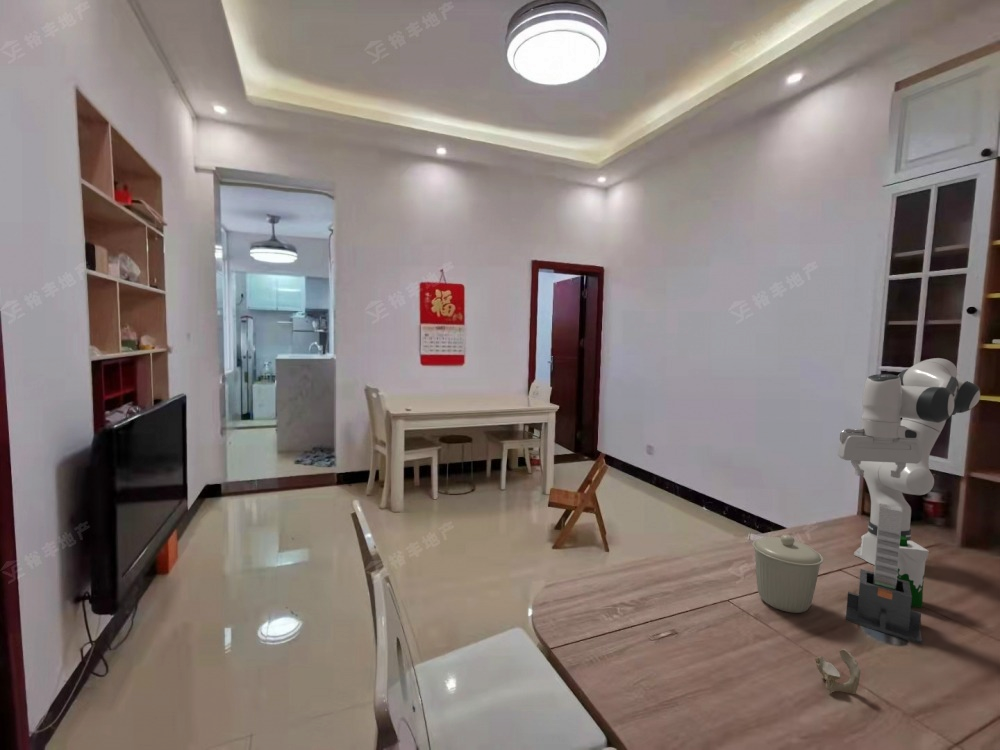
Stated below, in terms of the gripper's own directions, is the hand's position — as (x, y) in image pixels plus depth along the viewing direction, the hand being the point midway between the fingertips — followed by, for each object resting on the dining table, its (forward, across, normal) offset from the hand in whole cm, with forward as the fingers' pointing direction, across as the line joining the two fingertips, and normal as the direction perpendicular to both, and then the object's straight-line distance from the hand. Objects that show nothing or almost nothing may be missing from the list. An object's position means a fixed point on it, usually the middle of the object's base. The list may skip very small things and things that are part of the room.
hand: (877, 476), depth 133 cm
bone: (+40, -29, -38) cm, 62 cm away
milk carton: (+41, +13, +8) cm, 44 cm away
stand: (+40, 0, -5) cm, 41 cm away
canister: (+40, -25, -3) cm, 47 cm away
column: (+31, 0, -6) cm, 32 cm away
